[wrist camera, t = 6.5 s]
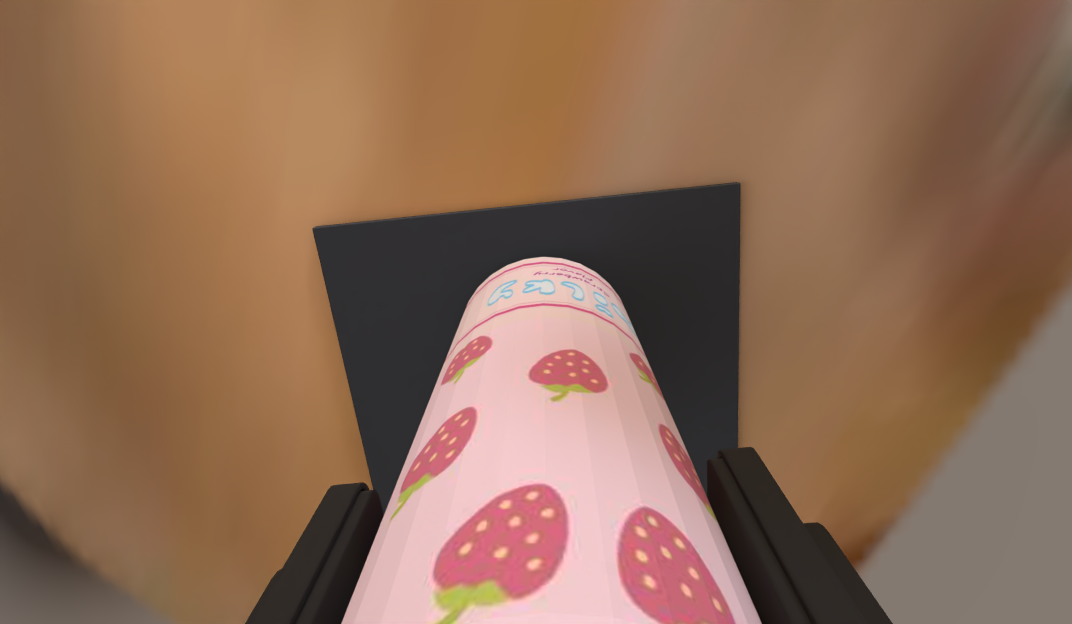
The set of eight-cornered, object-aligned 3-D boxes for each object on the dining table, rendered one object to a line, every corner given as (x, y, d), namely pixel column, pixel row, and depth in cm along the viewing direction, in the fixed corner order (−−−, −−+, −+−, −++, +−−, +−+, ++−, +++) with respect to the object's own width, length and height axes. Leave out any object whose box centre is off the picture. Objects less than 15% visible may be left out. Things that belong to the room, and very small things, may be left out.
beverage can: (644, 268, 18) (1001, 774, 4) (610, 421, 20) (773, 1135, 6) (472, 241, 18) (219, 677, 4) (452, 397, 20) (233, 1085, 6)
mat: (315, 226, 19) (311, 228, 18) (737, 182, 18) (740, 182, 18) (392, 561, 23) (391, 567, 23) (734, 534, 23) (736, 539, 22)
